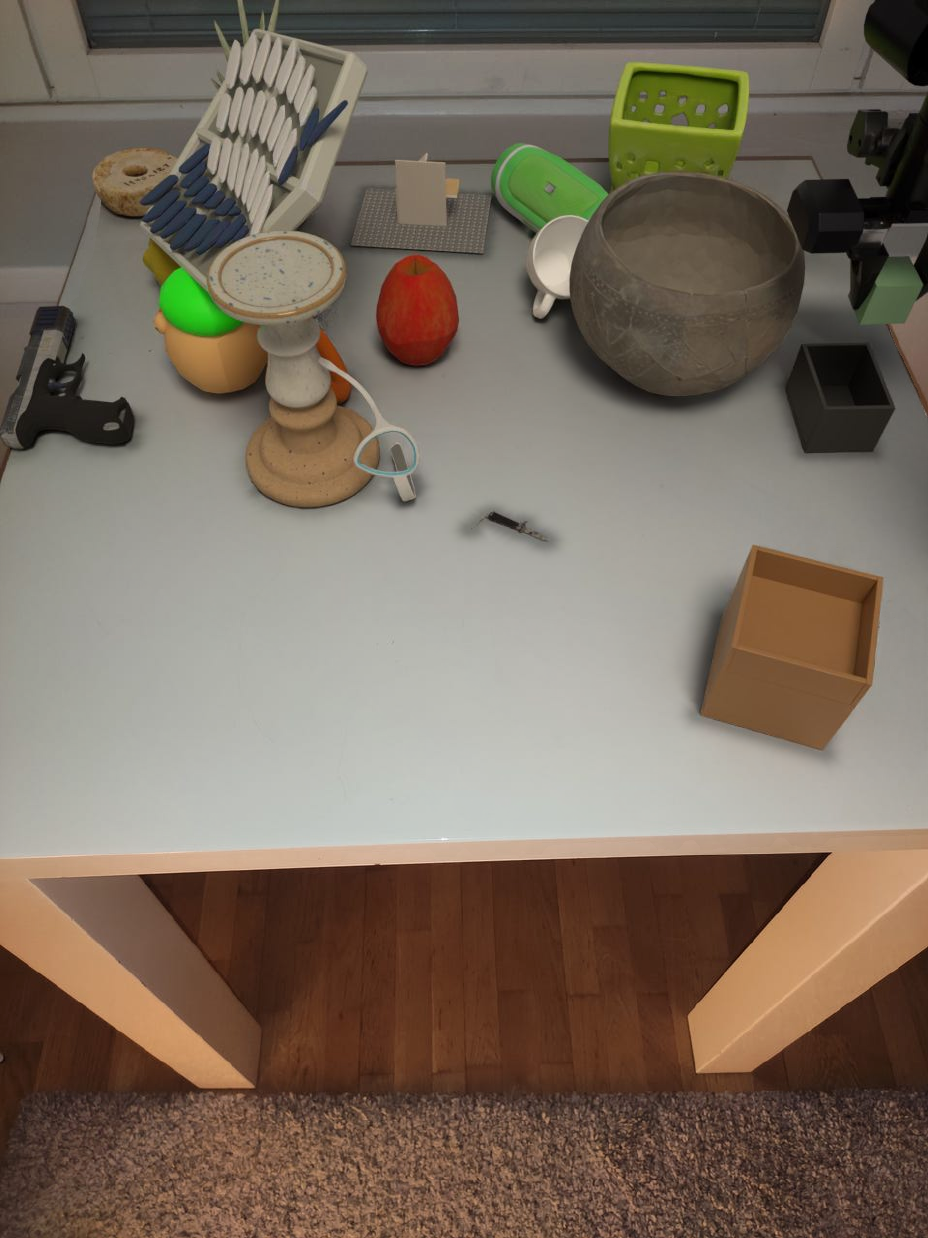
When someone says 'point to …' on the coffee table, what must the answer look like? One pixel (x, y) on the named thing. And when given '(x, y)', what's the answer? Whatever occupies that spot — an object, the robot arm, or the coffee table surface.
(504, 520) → the knife
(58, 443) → the coffee table surface
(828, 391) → the black open box
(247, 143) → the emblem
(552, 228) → the cup
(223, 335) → the figurine
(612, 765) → the coffee table surface
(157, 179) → the stone disc
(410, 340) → the apple
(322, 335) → the orange flat curved piece
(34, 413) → the handgun
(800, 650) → the box
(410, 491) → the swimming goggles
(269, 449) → the candle holder
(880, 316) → the block
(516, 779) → the coffee table surface
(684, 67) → the flower pot
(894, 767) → the coffee table surface
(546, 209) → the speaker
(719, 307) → the bowl
